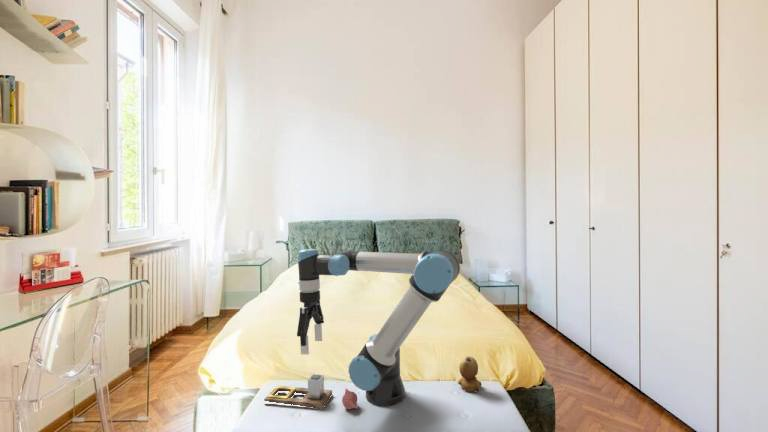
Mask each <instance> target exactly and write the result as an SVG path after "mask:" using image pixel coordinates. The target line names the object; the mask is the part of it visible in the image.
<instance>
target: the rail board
mask: <svg viewBox="0 0 768 432" xmlns="http://www.w3.org/2000/svg"><path fill="white" fill-rule="evenodd" d="M278 391H289V393H288V394H287V395H286V394H285V395H275V394H276V393H277V392H278ZM295 392H296V393H302V394H306V395H305V396H303V397H302V398H296V397H294V398H291V397H292V396H293V395H294V393H295ZM331 395H332V396H333V390H332V389H324V396H323V398H322V399H321V400H310V399H308V387H307V388H306V387H295V386H284V385H283V386H282V385H277V386H276V387H275V388H273V390H272V391H270V392H269V393H268V395H266V396H265V398H264V400H263V402H264V401H269V402H276V403H284V404H291V405H292V404H293V405H300V406H306V407H313V408H318V409H317V410H324V408H325V407H326V406H327V404H328V402H329V401H330V399H331V398H330V396H331ZM332 396H331V397H332ZM329 398H330V399H329ZM328 400H329V401H328ZM327 401H328V402H327ZM326 403H327V404H326ZM324 406H325V407H324Z"/></svg>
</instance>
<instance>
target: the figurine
mask: <svg viewBox="0 0 768 432" xmlns="http://www.w3.org/2000/svg"><path fill="white" fill-rule="evenodd" d="M478 372H479V365H478V362H477V360H476V359H475V358H474V357H472V356H466V357H465V358H463V359H462V360H461V362H460V364H459V373H460V375H461V378H459V380H457V384H458V385H460V386H461V389H462V390H463V391H464V390H465V391H464V392H466V393H471V392H473V393H476V392H475V391H477V392H479V390H480V389H481V388H482V382H481V381H480V380H478V378H477V375H478ZM479 388H480V389H479Z"/></svg>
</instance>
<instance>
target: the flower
mask: <svg viewBox="0 0 768 432" xmlns="http://www.w3.org/2000/svg"><path fill="white" fill-rule="evenodd" d="M342 396H343V397H342V399H341V401H342V402H341V403H342V405H343V407H344V408H345V409H348V410H352V409H359V406H358V395H357V393H356V392H355V391H349V389H347V388H345V391H344V395H342Z"/></svg>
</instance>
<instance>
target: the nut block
mask: <svg viewBox="0 0 768 432" xmlns="http://www.w3.org/2000/svg"><path fill="white" fill-rule="evenodd" d="M307 388H308V399H310V400H321V399H322V398H323V396H324V390H325V379H324V374H315V373H313V374H311V376H310V377H309V378H308V379H307Z"/></svg>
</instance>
